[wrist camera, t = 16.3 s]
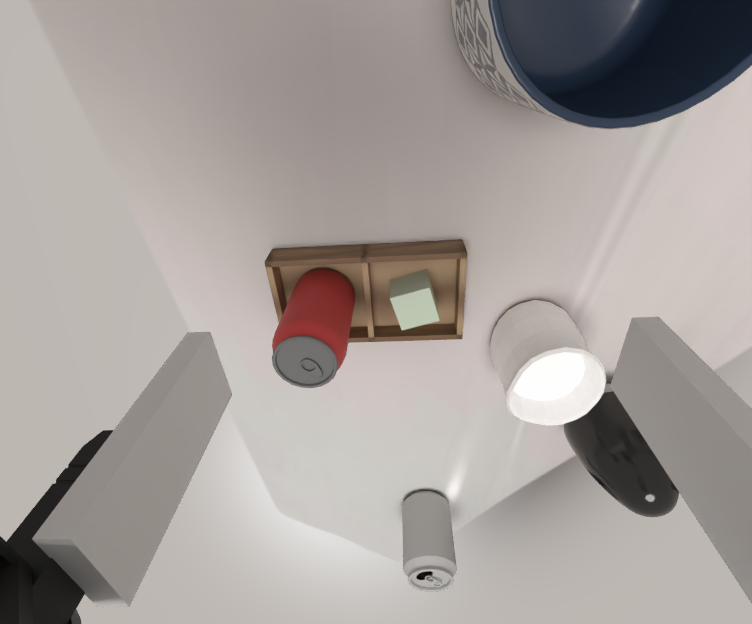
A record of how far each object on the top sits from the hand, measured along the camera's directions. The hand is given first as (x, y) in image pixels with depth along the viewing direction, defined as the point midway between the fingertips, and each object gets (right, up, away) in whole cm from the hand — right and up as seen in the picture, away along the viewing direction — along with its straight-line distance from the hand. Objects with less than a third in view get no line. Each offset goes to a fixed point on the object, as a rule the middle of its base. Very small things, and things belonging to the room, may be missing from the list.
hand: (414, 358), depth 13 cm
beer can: (-7, +4, +31) cm, 32 cm away
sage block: (+3, +4, +30) cm, 31 cm away
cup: (+16, -1, +34) cm, 38 cm away
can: (+7, -29, +52) cm, 60 cm away
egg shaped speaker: (+27, -10, +39) cm, 49 cm away
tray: (-2, +4, +31) cm, 32 cm away
